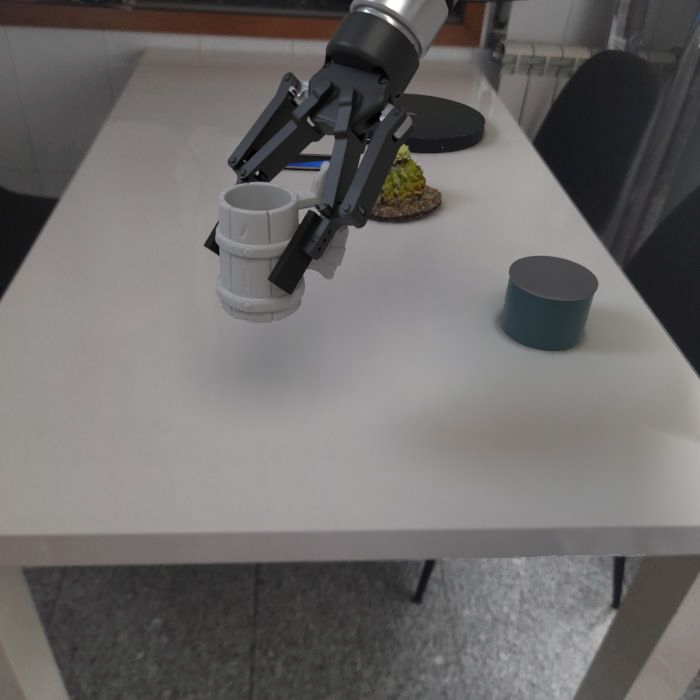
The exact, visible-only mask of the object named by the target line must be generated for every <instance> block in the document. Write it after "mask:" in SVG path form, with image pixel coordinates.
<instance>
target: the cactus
mask: <svg viewBox="0 0 700 700" xmlns="http://www.w3.org/2000/svg"><path fill="white" fill-rule="evenodd" d="M408 147H409V146H406V145H405V144H403V145H402V146H401V147H400V149H399V151H398V154H397V156H396V158H395V160H394V163H393V165H392V167H391V169H390V171H389V174H388V176H387V178H386V180H385V183H384V185H383V187H382V189H381V192H380V194H379V196H378V198H377V200H376V203H375V205H374V207H373V209H372V212H371V214H370V216H369V219H373V220H382V221H388V220H389V221H393V222H397V221H401V220H406V221H407V220H410V219H415V218H417V217H421V216H427V215H428V214H430V213H432V212H435V211H436V210H438V207H441V206H442V204H443V199H442V198H443V197H442V196H443V195H442V192H440V191H439V190H438V189H437V188H434V187H431V186H429V185H428V184H426V183H427V180H426V179H427V178H426V177H425V176H424V170H423V168H422V165H418V164H417V163H418V160H416V161H414V159H413V158H412V157H411V155H412V152H409V151H410V150H409V149H408Z"/></svg>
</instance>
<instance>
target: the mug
mask: <svg viewBox="0 0 700 700" xmlns="http://www.w3.org/2000/svg"><path fill="white" fill-rule="evenodd" d="M329 164H330V162H328V161H324V162H323V163H322V165H321V170H318V172H317V173H316V174H315V175H314V177H313V180H312V183H311V186H310V191H308V192H300V193H296V192H295V191H294V190H292V189H291V188H290V187H286V186H285V185H283V184H279V183H273V182H269V183H268V182H250V183H249V184H248V183H243V184H238V185H235V184H233V185H231V186H228V187H225V189H223V190H222V191H221V192H220V193H219V196H218V200H217V201H218V220H219V224H218V226H217V228H216V236H215V240H216V243H217V244H218V245H219V249H220V256H219V274H218V275H217V277H216V282H215V292H216V294H217V297H218V299H219V300H220V305H221V308H222V310H223V311H224V312H225V313H226V314H227V315H228V316H230V317H232V318H234V319H238V320H241V321H242V320H243V321H247V322H249V323H255V324H268V323H272V322H273V321H275V322H279V321H282V320H285V319H287V318H288V317H290V316H292V315H293V314H295V313H296V312H297V311H299V309H300V307H301V305H302V298H303V296H304V294H305V292H306V280H305V275H304V274H303V276H302V278H301V279H300V281H299V283H298V285H297V286H296V288H295V290H294V291H293V293H292V295H290V294H288V293H286V292H284V291H283V290H282V289H280V288H279V287H277V286H276V285H274V284H273V283H272V282H270V281H269V280H267V279H268V277H269V276H270V274H271V272H272V271H273V269H274V267H275V265H276V264H277V262H278V260H279V259H280V257H281V255H282V254H283V252H284V250H285V249H286V247H287V245H288V244H289V242H290V240H291V238H292V237H293V235H294V233H295V232H296V230H297V228H298V227H299V225H300V215H299V211H300V210H305V209H309V208H315V204H317V205H318V204H320V203H321V199H322V195H323V190H324V186H325V182H326V177H327V173H328V169H329ZM349 233H350V231H349V226H343V227H341V228H339V229H338V230H337V231H336V233H335V235H334V236H333V238H332V240H331V241H330V243H329V245H328V247H327V248H326V250H325V252H324V253H323V255H322V257H320V258H319V259H318V260H317V261H316V260H314V259H312V261H311V263H310V264H309V266H308V268H307V269H306V270H312V271H315V272H317V273H319V274H320V275H321V276H322V277H323V278H324V279H326V280H333V278H334V276H335V273H336V271H337V269H338V267H341V266H342V262H343V260H344V257H345V254H346V249H347V248H346V244H347V243H346V242H347V241H348V237H349Z"/></svg>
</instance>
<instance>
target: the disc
mask: <svg viewBox="0 0 700 700" xmlns="http://www.w3.org/2000/svg"><path fill="white" fill-rule="evenodd" d="M397 105H401V106H403V107H404V109H405V110H406V112H407V113H408V115H409V116H410V118H411V119H412V121H413V122H414V124H415V130H414V132H413V133H412V134H411V136H410V137H409V138H408V139H407V140H406V141H405V143H404V144H405V145H406V146H409V147H408V149H409V150H410V151H409V152H411V153H419V154H420V153H423V154H433V153H435V154H437V153H449V152H456V151H462V150H464V149H468V148H471V147H473V146H475V145H478V144H479V143H480V142H481V141H482V140H483V138H484V133H485V127H486V122H487V121H486V118H485V116H484V115H483V114H482V113H481V112H480V111H479V110H477V109H476V108H475V107H472V106H470V105H468V104H465V103H462V102H459V101H456V100H453V99H449V98H445V97H439V96H434V95H427V94H419V93H407V92H404V93H403V95H402V96H401V98H399V99H398V100H396V101H394V106H397ZM379 124H380V123H379ZM379 124H378V125H376V126H374V127H373V128H371V129H370V130H369V134H368V139H370V140H367V143H366V145H369V143H370V141H371V139H372V137H373V134H374V132H375V131H376V129H377V127H378V126H379ZM483 131H484V132H483ZM482 134H483V135H482ZM442 147H443V148H442Z"/></svg>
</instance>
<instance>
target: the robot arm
mask: <svg viewBox="0 0 700 700" xmlns="http://www.w3.org/2000/svg"><path fill="white" fill-rule="evenodd" d="M458 1H459V0H353V1H352V2H351V3H350V6H349V12H348V13H346V14H344V16H343V17H342V20H341V21H340V23H339V24H338V26H337V27H336V29H335V31H334V33H333V35H332V36H331V38H330V40H329V41H328V43H327V44H326V47H325V57H324V62H323V65H322V67H320V69H319V70H318V71H317V72H316V73H315V74H313V75H312V76H311V77H310V78H298V77H297V76H296V75H295V74H294V73H293V72H292V71H289V72H286V73H285V74H284V75H283V76H282V78H281V81H280V83H279V84H278V85H279V86H278V87H277V90H276V92H275V95H274V96H273V97H272V99H271V100H270V101H269V103H268V104H267V106H265V108H264V110H263V111H262V112H261V114H260V115H259V117H258V118H257V119H256V121H255V122H254V123H253V124H252V126H251V127H250V129H249V130H248V131H247V133H246V134H245V135H244V137H243V138H242V140H241V141H240V142H239V144H238V145H237V146H236V148H235V149H234V151H232V153H231V154H230V156H229V158H228V159H227V162H226V163H227V166H229V168H231V170H232V171H233V172H234V173H235V175H236V182H235V183H234V185H238V184H243V183H248V184H249V183H250V182H268V183H272V181H273V180H274V179H275V178H276V177H277V176H278V175H280V173H281V172H282V171H284V169H286V168H285V167H286V166H287V165H288V164H289V163H290V162H292V161H293V160H294V159H295V158H296V157H297V156H298V155H299V154H300V153H302V152H303V151H304V150H305V149H307V148H308V146H310V145H311V144H312V143H318V142H320V141H321V140H322V139H323V138H324V137H325V136H333V137H334V142H333V148H332V151H331V155H332V156H331V160H330V164H329V169H328V173H327V177H326V182H325V186H324V190H323V195H322V199H321V203H320V204H318V205H317V204H315V207H314V208H315V210H316V211H317V212H318V213H319V214H318V213H317V212H316V211H314V210H311V209H308V210H307V212H306V213H305V215H304V217H303V218H302V220H301V222H299V224H300V225H299V227H298V228H297V230H296V232H295V233H294V235H293V237H292V238H291V240H290V242H289V244H288V245H287V247H286V249H285V250H284V252H283V254H282V255H281V257H280V259H279V260H278V262H277V264H276V265H275V267H274V269H273V271H272V272H271V274H270V276H269V277H268V279H267V280H269V281H270V282H272V283H273V284H274V285H276V286H277V287H279V288H280V289H282V290H283V291H284V292H286V293H288V294H290V295H292V293H293V291H294V290H295V288H296V286H297V285H298V283H299V281H300V279H301V278H302V276H303V275H304V274H305V273H306V271H307V270H308V269H307V268H308V266H309V264H310V263H311V261H312V259H314V260H316V261H317V260H318V259H319V258H320V257H322V255H323V253H324V252H325V250H326V248H327V247H328V245H329V243H330V241H331V240H332V238H333V236H334V235H335V233H336V231H337V230H338V229H339V228H341V227H343V226H348V227H353V228H355V229H362V228H364V227H365V226H366V224H367V222H368V220H369V219H370V217H369V216H370V214H371V212H372V209H373V207H374V205H375V203H376V200H377V198H378V196H379V194H380V192H381V189H382V187H383V185H384V183H385V180H386V178H387V176H388V174H389V171H390V169H391V167H392V165H393V163H394V160H395V158H396V156H397V154H398V151H399V149H400V147H401V146H402V145H403V144H404V143H405V141H406V140H407V139H408V138H409V137H410V136H411V134H412V133H413V132H414V130H415V124H414V122H413V121H412V119H411V118H410V116H409V115H408V113H407V112H406V110H405V109H404V107H403V106H401V105H397V106H394V101H396V100H398V99H399V98H401V96H402V95H403V93H406V90H407V88H408V86H409V85H410V84H411V81H412V80H413V78H414V77H415V75H416V73H417V71H418V70H419V68H420V61H421V60H422V59H424V58H425V57H426V55H427V54H428V53H429V50H430V48H431V47H432V45H433V43H434V42H435V40H436V38H437V37H438V35H439V33H440V32H441V30H442V28H443V26H444V25H445V23H446V21H447V20H449V17H450V15H451V13H452V11H453V9H454V7H455V6H456V4H457V2H458ZM308 118H309V121H310V122H311V123H312V124H313V125H312V124H310V122H309V121H308ZM379 123H380V124H379ZM378 124H379V126H378V127H377V129H376V131H375V132H374V134H373V137H372V139H371V141H370V143H369V144H367V139H368V134H369V130H370V129H371V128H373V127H374V126H376V125H378ZM362 155H363V156H362ZM361 157H362V158H361ZM257 172H258V174H257ZM218 224H219V219H217V222H216V223H215V224H214V227H213V228H212V230H211V232H210V234H209V235H208V237H207V239H206V240H205V241H204V243H203V246H204V247H205V248H206V249H207V250H209V251H211V252H212V253H213V254H215V255H217V257H220V249H219V245H218V244H217V243H216V240H215V236H216V228H217V226H218ZM203 246H202V247H203Z"/></svg>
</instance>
